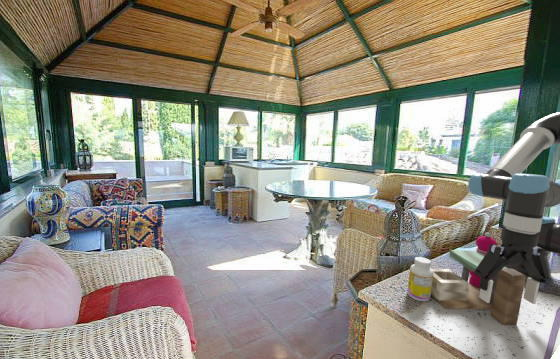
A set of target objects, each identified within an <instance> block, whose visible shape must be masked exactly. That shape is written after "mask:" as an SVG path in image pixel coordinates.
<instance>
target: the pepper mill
mask: <svg viewBox="0 0 560 359" xmlns="http://www.w3.org/2000/svg"><path fill="white" fill-rule="evenodd" d="M490 244H494V245H496V246H498V242H497V240H496V239H494V238H493V237H492V234H491V233H490V232H485V233H484V235H481V236H478V237H477V238H476V240H475V245H476V246H477V247H476V250H475V251H476V252H477V253H479V254H481V255H483V256H485V255H486V253H487V252H488V250H489V246H490ZM487 275H488V274H487ZM480 279H481V277H479V276H478V275H476V274H475V273H474V272H473V271H471V270H470V272H469V278H468V283H469V284H471V285H472V286H474V287H475V288H477V289H481V288H480V287H479V285H480ZM491 280H492V279H491Z"/></svg>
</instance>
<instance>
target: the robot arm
mask: <svg viewBox="0 0 560 359" xmlns="http://www.w3.org/2000/svg"><path fill="white" fill-rule="evenodd" d="M559 144H560V111H559V112H555V113H551V114H549V115H546V116H544V117H542V118H540V119H538V120H536V121H534V122H532V123H531V124H530V125H528V126H527V127H526V128H524V129H523V131H521V133H520V134H519V139H518V140H517V141H515V143H514V144H513V146H511V147H510V148H509V150H508V151H507V152H505V154H504V155H503V156H502V157H500V158H499V160H498V161H497V162H496V163H495V164H494V165H493V166H492V167H491V168H490V169H489V170H488V171H487V172H486V173H475V174H472V175H471V177H470V178H469V180H468V184H467V187H468V192H470V194H472V195H474V196H479V197H482V198H488V199H495V200H501V201H502V200H503V201H506V204H505V210H504V211H505V212H504V216H503V221H502V225H503V227H501V232H500V237H499V238H500V240H501V242H502V243H501V245H497V246H496V245H494V244H490V246H489V250H488V252H487V253H486V255H485V256H484V258H483V259H482V261H481V262H480V264H479V265H478V267H477V268H476V269H475V271H474V273H475V274H476V275H478V276H479V277H481V279H480V285H479V287H480V288H479V291H480V295H479V297H480V298H481V299H482V300H484V301H485V302H487V303H490V297H491V292H492V286H493V281H492V280H491V279H492V278H493V277H494V276H495V275H496V274H497V273H498V272H499V271H500V270H501V269H503V268H504V267H506V268H508V269H514V270H516V271H518V272H520V273H522V274H524V275H526V282H525V283H526V284H525V288H524V292H523V299H524V300H526V301H528V302H529V303H531V304H533V305H535V304H536V303H537V298H538V293H539V292H540V289H541V286H542V284H547V281H550V279H551V276H552V269H551V266H550V261H549V253H553V254H556V255H559V256H560V223H558V222H557V220H556V219H555V218H553V217H550V216H545V215H544V211H545V208H552V207H555V206H558V205H560V182H558V181H553V180H550V177H548V176H547V175H542V174H532V173H523V172H524V171H525V170H527V168H528V166H530V164H532V162H533V161H534V160H535V159H536V158H537V157H538V156H539V155H540V154H541V153H542V152H543V150H546V149H549V148H550V147H551V146H553V145H559ZM487 274H488V275H487ZM541 283H542V284H541Z"/></svg>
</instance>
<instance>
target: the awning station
mask: <svg viewBox="0 0 560 359" xmlns="http://www.w3.org/2000/svg"><path fill="white" fill-rule="evenodd" d="M448 254H449V256H448V257H449V258H451V260H454V261H455V262H457V263H458V264H461V265H462V272H461V276H460V275H457V274H456V273H455V272H454V271H452V270H451V269H449V268H431V269H432V270H433V279H432V287H431V295H430V296H432V297H433V299H435V300H436V301H437V302H438V303H439V304H440V305H441V306H442V307H443V308H444V309H464V310H465V309H469V310H470V309H471V310H478V309H479V310H480V309H481V310H492V306H493V301H494V295H495V289H496V284H497V278H498V273H497V274H496V275H495V276H494V277H493V278H492V281H493V286H492V292H491V297H490V303H487V302H485V301H484V300H482V299H481V298H480V297H479V295H480V289H479V288H477V287H475V286H473V285H472V284H471V283H470V282H469V279H470V273H469V272H470V270H471V271H473V272H474V271H475V269H476V268H477V267H478V265H479V264H480V262H481V261H482V259H483V258H484V256H483V255H481V254H479V253H477V252H476V250H460V249H459V250H457V249H456V250H455V249H454V250H452V249H451V250H449V253H448ZM504 268H506V267H504ZM507 269H508V268H507Z"/></svg>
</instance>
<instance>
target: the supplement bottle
mask: <svg viewBox="0 0 560 359" xmlns="http://www.w3.org/2000/svg"><path fill="white" fill-rule="evenodd" d="M413 262H414V264H411V265H410V268H409V274H408V275H409V277H408V283H407V294H408V296H409V297H410V298H411V299H413V300H415V301H418V302H429V301H430V299H431V296H432V295H431V287H432V279H433V270H432V269H433V268H431V266H432V261H431V259H429V258H425V257H423V256H415V257H414V260H413Z"/></svg>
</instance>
